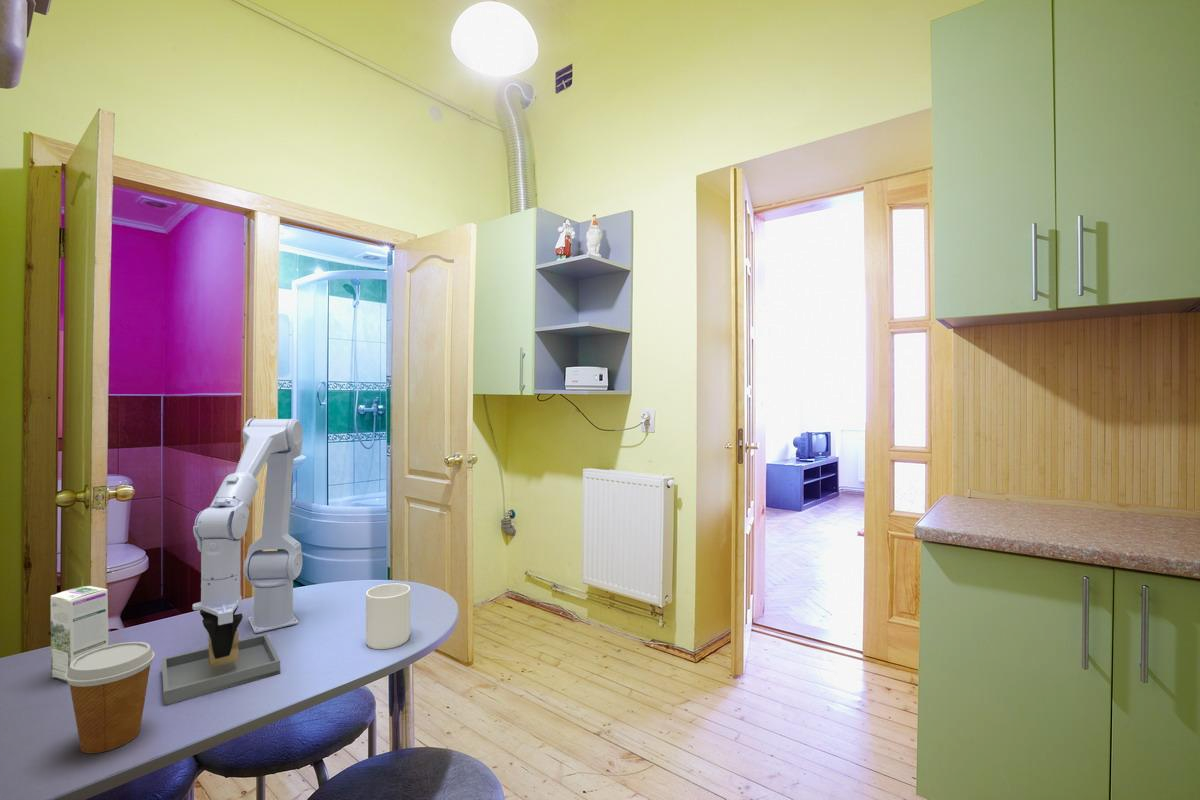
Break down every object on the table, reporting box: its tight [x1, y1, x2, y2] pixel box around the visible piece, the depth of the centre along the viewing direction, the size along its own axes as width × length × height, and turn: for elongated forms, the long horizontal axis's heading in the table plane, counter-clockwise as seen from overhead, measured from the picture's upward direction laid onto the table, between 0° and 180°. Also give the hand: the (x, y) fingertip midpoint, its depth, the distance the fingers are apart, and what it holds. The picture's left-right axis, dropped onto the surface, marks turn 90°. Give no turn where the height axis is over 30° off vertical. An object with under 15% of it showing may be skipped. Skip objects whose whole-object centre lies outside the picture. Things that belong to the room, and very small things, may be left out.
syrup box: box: [50, 585, 109, 682], centre depth 96 cm, size 6×6×14 cm
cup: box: [365, 582, 411, 650], centre depth 111 cm, size 8×12×10 cm
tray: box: [161, 633, 281, 706], centre depth 96 cm, size 14×16×2 cm
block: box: [208, 629, 239, 668], centre depth 96 cm, size 4×4×5 cm
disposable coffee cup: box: [64, 641, 156, 754], centre depth 77 cm, size 10×10×12 cm
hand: (220, 651), depth 96 cm, fingers closed on block, 4 cm apart
